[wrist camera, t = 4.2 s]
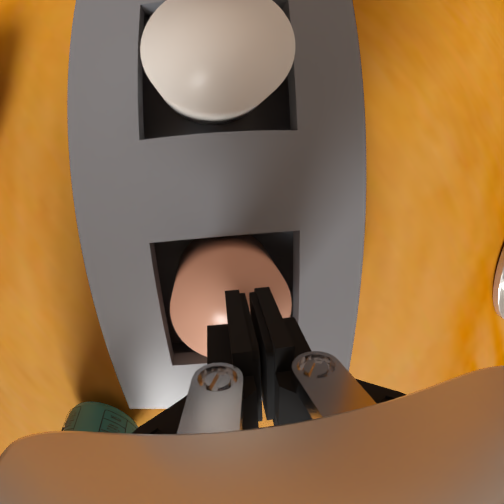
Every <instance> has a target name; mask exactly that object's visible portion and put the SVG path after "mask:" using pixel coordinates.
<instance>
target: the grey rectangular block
mask: <svg viewBox="0 0 504 504" xmlns="http://www.w3.org/2000/svg"><path fill="white" fill-rule="evenodd" d="M165 1H166V0H76V5H75V11H74V18H73V25H72V34H71V43H70V55H69V70H68V142H69V158H70V170H71V181H72V190H73V198H74V206H75V213H76V220H77V226H78V232H79V238H80V243H81V249H82V254H83V259H84V263H85V268H86V273H87V277H88V281H89V286H90V290H91V294H92V298H93V301H94V305H95V309H96V313H97V316H98V320H99V323H100V327H101V330H102V333H103V336H104V340H105V343H106V346H107V349H108V352H109V355H110V358H111V361H112V364H113V367H114V369H115V372H116V375H117V378H118V380H119V383H120V385H121V388H122V391H123V393H124V396H125V398H126V401H127V403H128V405H129V408H130V409H165V408H169V407H170V406H172V405H173V404H175V403H176V402H178V401H179V400H181V399H182V398H184V397H185V396H187V394H188V391H189V387H190V384H191V380H192V377H193V375H194V373H195V372H196V371H197V370H198V369H199V368H201V367H203V366H205V365H207V357H206V356H204V355H201V354H199V353H197V352H196V351H194V350H192V349H191V348H190V347H188V346H187V345H186V344H185V343H184V342H183V341H182V340H181V338H180V337H179V336H178V334H177V332H176V331H175V329H174V326H173V324H172V320H171V316H170V301H171V296H172V292H173V287H174V282H175V277H176V273H177V268H178V264H179V260H180V258H181V255H182V253H183V252H184V250H185V249H186V247H187V246H188V245H189V244H190V243H191V242H192V241H193V240H194V239H199V238H210V237H222V236H234V235H246V234H249V235H251V236H253V237H254V238H256V239H257V240H258V241H259V242H260V243H261V244H262V245H263V247H264V248H265V249H266V251H267V252H268V254H269V256H270V257H271V259H272V260H273V262H274V264H275V265H276V267H277V268H278V270H279V271H280V273H281V275H282V276H283V278H284V280H285V281H286V283H287V285H288V288H289V290H290V294H291V302H292V307H291V315H290V317H294V318H295V319H296V321H297V323H298V325H299V327H300V329H301V331H302V333H303V335H304V337H305V339H306V341H307V343H308V345H309V347H310V349H311V351H321V352H325V353H329V354H331V355H333V356H334V357H336V358H337V359H338V360H339V361H340V362H341V364H342V365H343V366H344V367H345V368H346V369H347V370H348V371H349V366H350V360H351V354H352V348H353V341H354V335H355V327H356V320H357V312H358V303H359V294H360V285H361V274H362V262H363V249H364V233H365V210H366V130H365V108H364V93H363V80H362V69H361V59H360V50H359V42H358V34H357V27H356V20H355V14H354V8H353V2H352V0H272V1H274V2H275V3H276V4H277V5H278V6H279V7H280V8H281V9H282V11H283V12H284V13H285V15H286V16H287V18H288V20H289V22H290V24H291V26H292V29H293V32H294V36H295V56H294V61H293V64H292V67H291V69H290V71H289V73H288V75H287V76H286V78H285V79H284V81H283V82H282V83H281V84H280V86H279V87H278V88H277V89H276V90H275V91H274V92H272V93H271V94H270V95H269V96H268V97H267V98H266V99H265V100H264V101H262V102H261V103H260V104H259V105H258V106H257V107H256V108H255V109H254V110H253V111H251V112H250V113H249V114H247V115H246V116H244V117H242V118H240V119H238V120H235V121H233V122H229V123H225V124H218V125H207V124H200V123H196V122H193V121H190V120H187V119H185V118H184V117H182V116H180V115H179V114H177V113H176V112H175V111H174V110H173V109H171V108H170V106H169V105H168V104H167V103H166V101H165V100H164V99H163V97H162V96H161V95H160V93H159V92H158V91H157V89H156V88H155V87H154V85H153V84H152V83H151V81H150V80H149V78H148V76H147V75H146V73H145V70H144V68H143V65H142V61H141V53H140V46H141V38H142V34H143V31H144V29H145V26H146V24H147V22H148V20H149V19H150V17H151V16H152V14H153V13H154V12H155V11H156V9H157V8H158V7H159V6H160V5H161V4H163V3H164V2H165ZM261 397H262V396H261Z"/></svg>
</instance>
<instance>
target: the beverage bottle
mask: <svg viewBox="0 0 504 504" xmlns="http://www.w3.org/2000/svg"><path fill="white" fill-rule="evenodd" d="M71 410H72V409H71ZM71 410H70V411H71ZM68 413H69V412H68ZM66 418H67V417H66ZM67 419H68V420H67ZM67 419H66V420H67V421H66V424H65V427H63V428H62V431H63V430H64V431H88V432H104V433H128V434H131V433H132V432H133V431H135V430H136V429H137V428H138V426H137V425H136V423H135V422H134V421H133V420H132V418H130V417H129V416H128V415H127V414H125V413H124V412H122V411H121V410H119V409H117V408H115V407H113V406H110V405H107V404H104V403H100V402H83V403H80V404H78V405H77V406H75V407H74V408H73V410H72V411H71V412H70V413H69V417H68V418H67ZM63 426H64V425H63Z"/></svg>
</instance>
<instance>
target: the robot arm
mask: <svg viewBox="0 0 504 504" xmlns="http://www.w3.org/2000/svg"><path fill="white" fill-rule="evenodd" d="M225 300H226V311H227V322H228V324H220V325H208V326H207V365H205V366H203V367H201V368H199V369H198V370H197V371H196V372H195V373H194V375H193V377H192V380H191V384H190V387H189V391H188V394H187V396H185V397H184V398H182V399H181V400H179V401H178V402H176V403H175V404H173V405H172V406H170V407H169V408H167V409H166V410H164V411H163V412H161V413H160V414H158V415H157V416H155V417H154V418H152V419H151V420H149V421H148V422H146V423H145V424H143V425H142V426H140V427H138V428H137V429H136V430H135V431H133V432H132V433H131V434H128V433H104V432H88V431H53V432H44V433H38V434H32V435H29V436H25V437H22V438H20V439H17V440H16V441H14V442H12V443H11V444H10V445H9V446H8V447H7V448H6V449H5V450H4V452H3V453H2V454H1V456H0V504H504V366H495V367H488V368H484V369H479V370H475V371H472V372H469V373H466V374H463V375H461V376H458V377H455V378H453V379H450V380H447V381H444V382H442V383H439V384H436V385H434V386H431V387H428V388H425V389H422V390H420V391H417V392H414V393H411V394H408V395H406V394H404V393H401V392H398V391H395V390H391V389H387V388H384V387H381V386H377V385H374V384H370V383H367V382H364V381H361V380H357V379H355V378H354V377H353V376H352V375H351V374H350V373H349V371H348V370H347V369H346V368H345V367H344V366H343V365H342V364H341V362H340V361H339V360H338V359H337V358H336V357H334V356H333V355H331V354H329V353H325V352H321V351H311V349H310V347H309V345H308V343H307V341H306V339H305V337H304V335H303V333H302V331H301V329H300V327H299V325H298V323H297V321H296V319H295V318H294V317H288V318H282V316H281V313H280V311H279V309H278V306H277V304H276V302H275V299H274V297H273V295H272V292H271V290H270V288H269V287H261V288H254V292H249V301H250V311H249V307H248V303H247V299H246V295H245V293H240V292H239V290H228V291H225ZM493 302H494V307H495V311H496V312H497V314H498V315H499V316H501V317H502V318H503V319H504V247H503V250H502V252H501V255H500V259H499V262H498V265H497V270H496V274H495V279H494V286H493ZM261 396H262V397H261ZM262 401H263V405H264V409H265V414H266V418H267V420H272V419H273V422H274V426H270V427H263V428H258V421H262Z"/></svg>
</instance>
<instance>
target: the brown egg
mask: <svg viewBox="0 0 504 504" xmlns="http://www.w3.org/2000/svg"><path fill="white" fill-rule="evenodd" d="M261 287H269V288H270V290H271V292H272V295H273V297H274V299H275V302H276V304H277V306H278V309H279V311H280V313H281V316H282V318H288V317H290V315H291V307H292V302H291V294H290V290H289V288H288V285H287V283H286V281H285V280H284V278H283V276H282V275H281V273H280V271H279V270H278V268H277V267H276V265H275V264H274V262H273V260H272V259H271V257H270V256H269V254H268V252H267V251H266V249H265V248H264V247H263V245H262V244H261V243H260V242H259V241H258V240H257V239H256V238H254V237H253V236H251V235H249V234H246V235H234V236H222V237H210V238H199V239H194V240H193V241H192V242H191V243H190V244H189V245H188V246H187V247H186V249H185V250H184V252H183V253H182V255H181V258H180V260H179V264H178V268H177V273H176V277H175V282H174V287H173V292H172V296H171V301H170V316H171V320H172V324H173V326H174V329H175V331H176V332H177V334H178V336H179V337H180V338H181V340H182V341H183V342H184V343H185V344H186V345H187V346H188V347H190V348H191V349H192V350H194V351H196V352H197V353H199V354H201V355H204V356H206V357H207V326H208V325H220V324H228V322H227V311H226V300H225V291H228V290H239V292H240V293H245V295H246V299H247V303H248V307H249V311H250V301H249V292H254V288H261Z"/></svg>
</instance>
